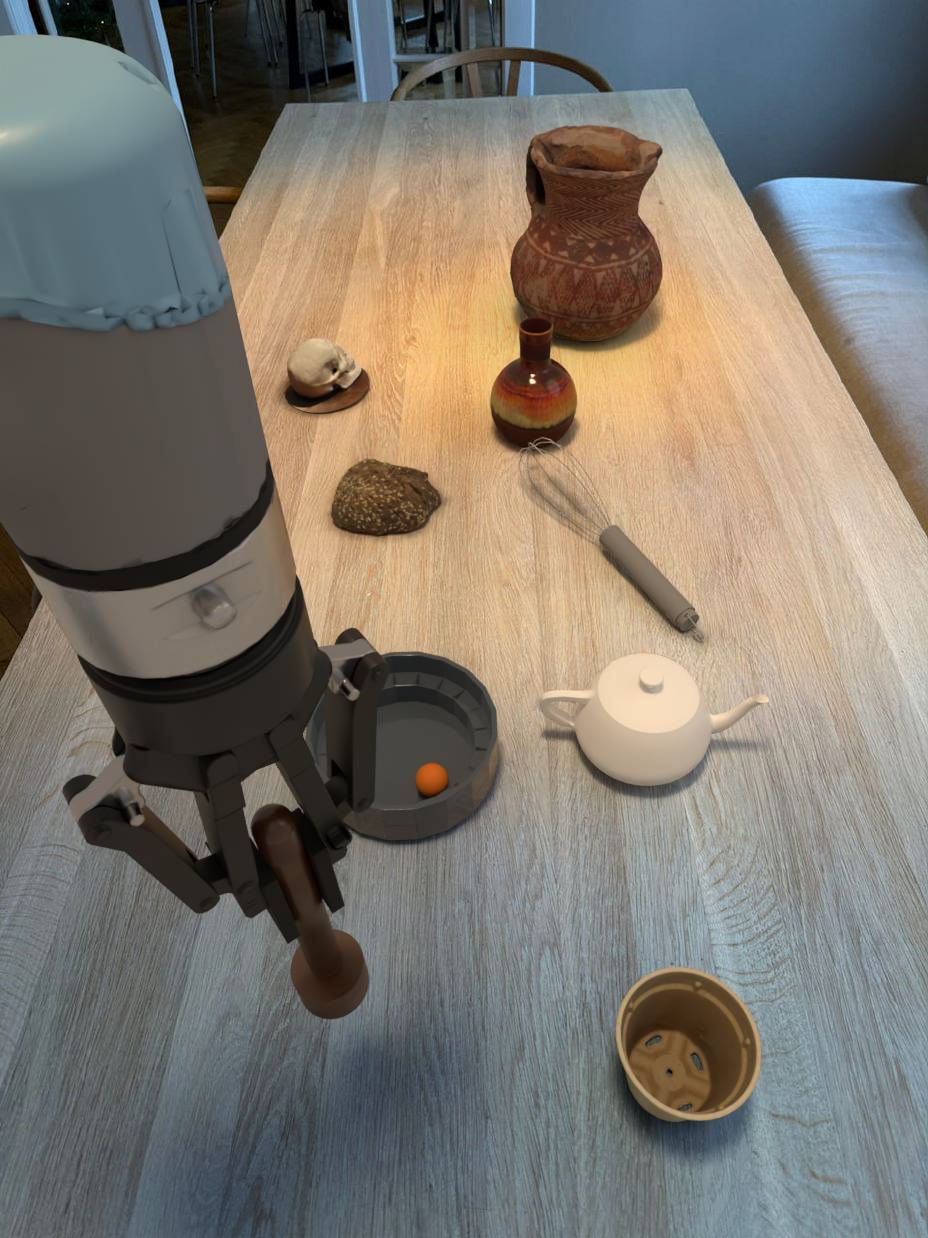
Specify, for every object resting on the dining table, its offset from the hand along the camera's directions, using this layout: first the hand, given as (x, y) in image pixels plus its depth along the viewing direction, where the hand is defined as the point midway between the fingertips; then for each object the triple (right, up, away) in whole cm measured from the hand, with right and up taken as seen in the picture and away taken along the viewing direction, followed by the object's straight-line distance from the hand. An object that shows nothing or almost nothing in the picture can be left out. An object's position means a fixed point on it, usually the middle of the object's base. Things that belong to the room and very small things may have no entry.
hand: (303, 904), depth 46 cm
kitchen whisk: (+25, +23, +55) cm, 65 cm away
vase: (+18, +40, +70) cm, 82 cm away
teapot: (+25, +3, +37) cm, 45 cm away
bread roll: (-1, +29, +61) cm, 68 cm away
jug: (+27, +61, +88) cm, 111 cm away
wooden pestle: (0, -8, +9) cm, 11 cm away
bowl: (+3, +2, +36) cm, 37 cm away
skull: (-11, +47, +78) cm, 92 cm away
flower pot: (+23, -18, +18) cm, 35 cm away
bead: (+6, +1, +32) cm, 33 cm away
